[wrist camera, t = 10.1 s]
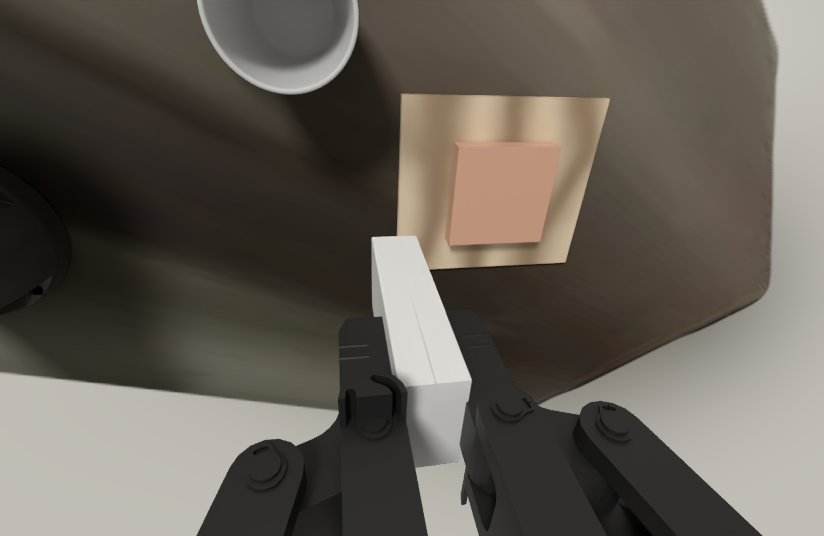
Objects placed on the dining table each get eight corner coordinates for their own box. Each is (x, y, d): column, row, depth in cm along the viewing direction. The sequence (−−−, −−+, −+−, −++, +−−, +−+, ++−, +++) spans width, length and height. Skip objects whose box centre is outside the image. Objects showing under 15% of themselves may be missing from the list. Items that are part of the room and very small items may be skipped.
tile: (449, 245, 42) (540, 241, 44) (459, 147, 37) (561, 147, 38) (444, 236, 44) (532, 233, 45) (453, 141, 38) (552, 141, 40)
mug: (363, -36, 31) (375, -56, 22) (341, 88, 35) (344, 111, 27) (188, -98, 28) (125, -149, 19) (187, 47, 32) (134, 58, 23)
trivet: (396, 268, 45) (396, 270, 45) (400, 93, 36) (401, 94, 36) (562, 260, 49) (565, 262, 48) (606, 98, 39) (609, 99, 39)
